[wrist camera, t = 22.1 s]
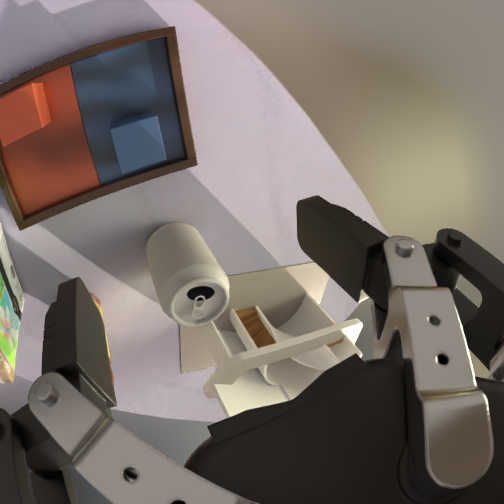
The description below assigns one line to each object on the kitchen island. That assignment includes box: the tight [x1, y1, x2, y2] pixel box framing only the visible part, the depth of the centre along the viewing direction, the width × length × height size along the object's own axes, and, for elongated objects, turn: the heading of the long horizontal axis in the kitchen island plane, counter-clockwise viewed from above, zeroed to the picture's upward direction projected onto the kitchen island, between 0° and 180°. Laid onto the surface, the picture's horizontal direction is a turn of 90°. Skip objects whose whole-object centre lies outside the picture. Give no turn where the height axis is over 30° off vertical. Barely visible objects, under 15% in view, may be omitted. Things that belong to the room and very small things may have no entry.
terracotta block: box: [0, 83, 51, 147], centre depth 20 cm, size 4×4×4 cm
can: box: [146, 222, 230, 327], centre depth 34 cm, size 8×8×12 cm
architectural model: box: [180, 262, 363, 418], centre depth 44 cm, size 28×21×23 cm
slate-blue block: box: [110, 112, 166, 174], centre depth 27 cm, size 4×4×4 cm
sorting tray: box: [0, 26, 198, 231], centre depth 25 cm, size 16×22×2 cm
